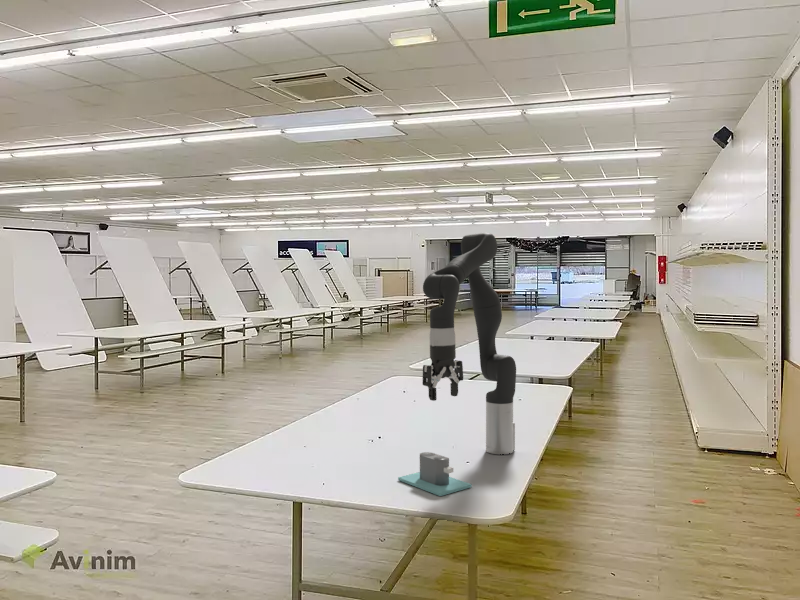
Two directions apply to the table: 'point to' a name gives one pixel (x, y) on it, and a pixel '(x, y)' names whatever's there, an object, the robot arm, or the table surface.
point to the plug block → (434, 468)
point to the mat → (435, 489)
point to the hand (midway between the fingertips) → (443, 398)
